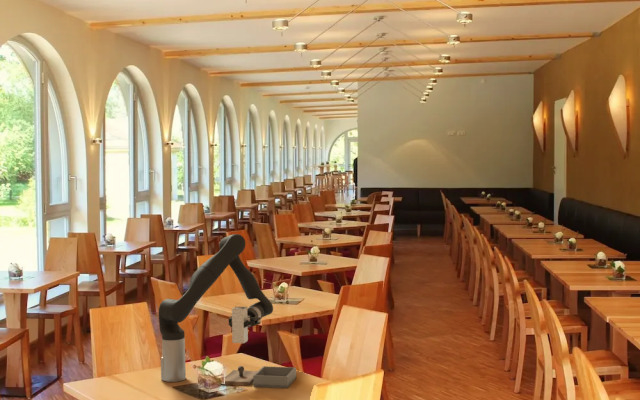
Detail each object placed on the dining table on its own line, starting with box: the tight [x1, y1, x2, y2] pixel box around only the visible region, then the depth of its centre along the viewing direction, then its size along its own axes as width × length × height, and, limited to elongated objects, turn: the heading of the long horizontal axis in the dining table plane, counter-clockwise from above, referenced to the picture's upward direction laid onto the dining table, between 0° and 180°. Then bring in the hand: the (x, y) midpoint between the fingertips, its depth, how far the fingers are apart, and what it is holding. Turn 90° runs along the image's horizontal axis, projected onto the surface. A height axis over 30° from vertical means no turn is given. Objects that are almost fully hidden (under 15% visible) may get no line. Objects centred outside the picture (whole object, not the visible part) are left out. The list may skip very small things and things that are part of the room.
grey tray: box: [252, 365, 297, 389], centre depth 310 cm, size 14×14×4 cm
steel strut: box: [231, 306, 249, 344], centre depth 314 cm, size 5×5×14 cm
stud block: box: [224, 365, 259, 387], centre depth 316 cm, size 12×16×6 cm
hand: (237, 324), depth 312 cm, fingers closed on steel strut, 5 cm apart
